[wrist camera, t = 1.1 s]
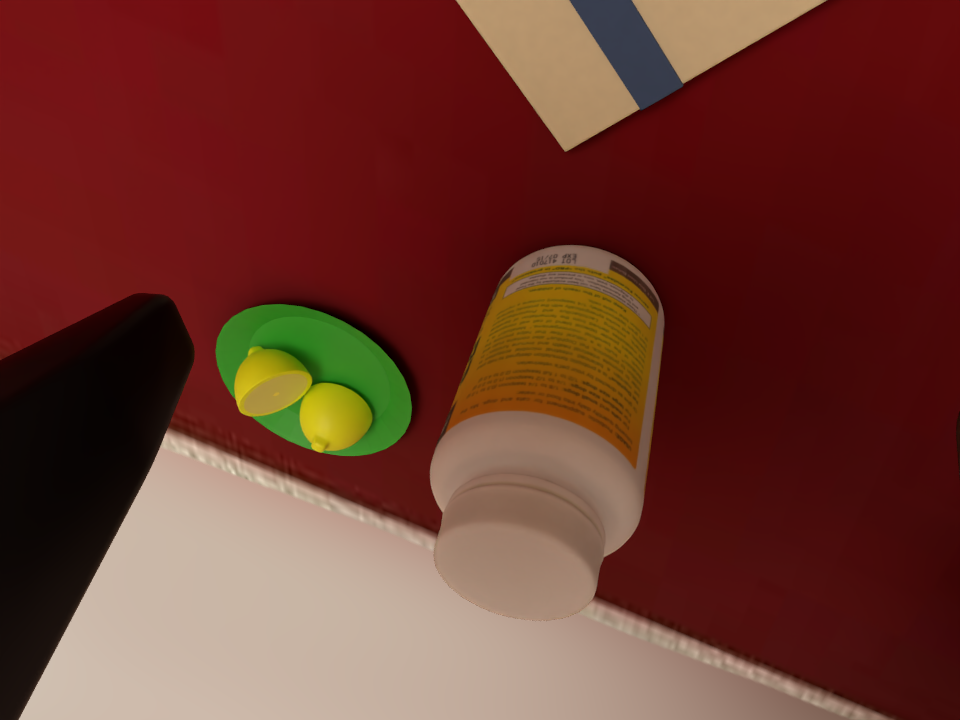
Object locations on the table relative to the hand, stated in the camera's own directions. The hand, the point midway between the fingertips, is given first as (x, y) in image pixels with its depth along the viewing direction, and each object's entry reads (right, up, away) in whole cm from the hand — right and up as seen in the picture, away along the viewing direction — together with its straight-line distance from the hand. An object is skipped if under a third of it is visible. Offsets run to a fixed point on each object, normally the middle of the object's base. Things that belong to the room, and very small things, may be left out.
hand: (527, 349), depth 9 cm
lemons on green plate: (-7, -1, +23) cm, 24 cm away
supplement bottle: (+3, +2, +17) cm, 18 cm away
